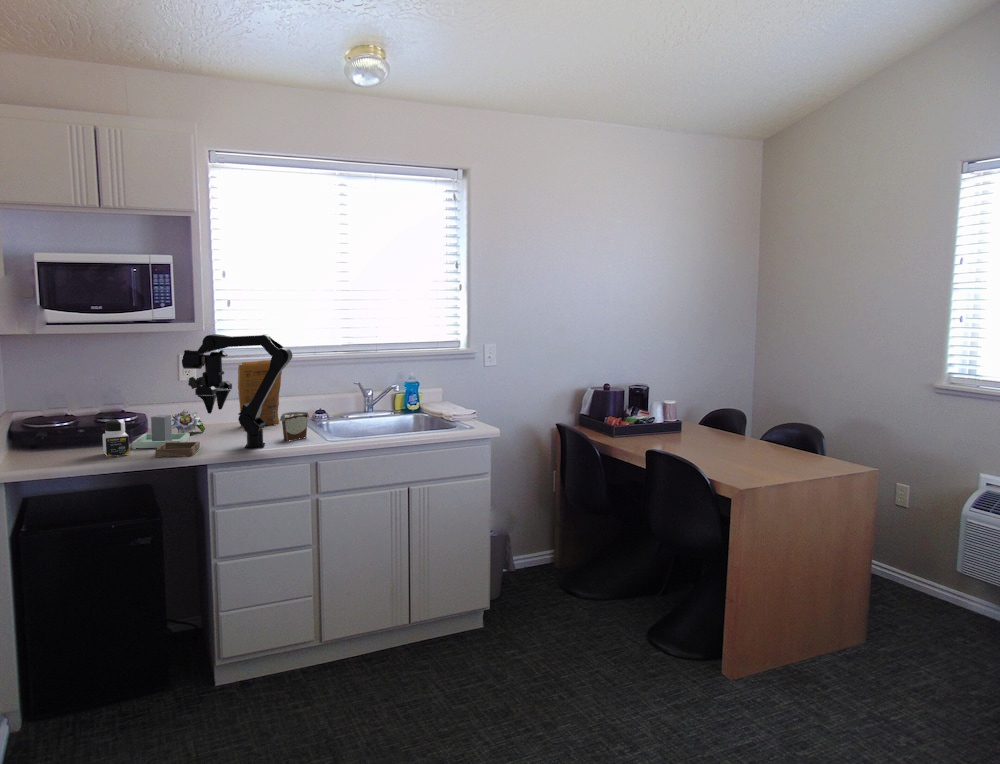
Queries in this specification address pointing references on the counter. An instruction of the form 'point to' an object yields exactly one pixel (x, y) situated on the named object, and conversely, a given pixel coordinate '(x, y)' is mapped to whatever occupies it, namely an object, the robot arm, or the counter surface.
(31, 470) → the counter surface
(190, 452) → the walnut collar
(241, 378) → the pancake mix bag
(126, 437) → the medicine bottle
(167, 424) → the grey peg
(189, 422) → the passion flower
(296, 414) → the food container
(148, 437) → the mint green tray
